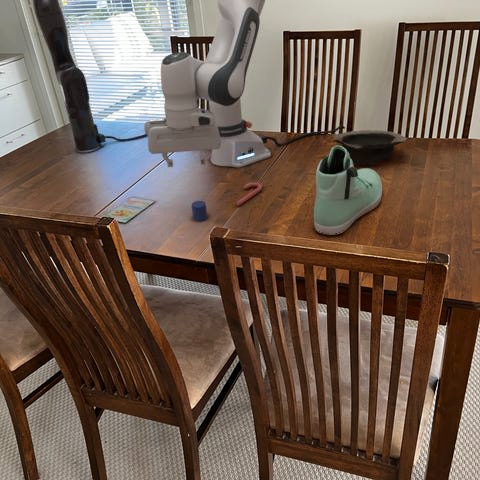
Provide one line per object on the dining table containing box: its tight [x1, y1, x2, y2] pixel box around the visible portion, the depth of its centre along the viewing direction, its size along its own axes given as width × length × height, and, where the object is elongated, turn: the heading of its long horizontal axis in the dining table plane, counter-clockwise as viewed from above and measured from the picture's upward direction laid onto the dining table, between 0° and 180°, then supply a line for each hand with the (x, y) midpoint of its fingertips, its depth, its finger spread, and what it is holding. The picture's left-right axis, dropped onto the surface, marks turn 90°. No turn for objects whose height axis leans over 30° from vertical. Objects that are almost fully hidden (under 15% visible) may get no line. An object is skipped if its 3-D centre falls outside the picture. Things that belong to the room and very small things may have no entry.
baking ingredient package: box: [104, 197, 155, 223], centre depth 147 cm, size 9×1×15 cm
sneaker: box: [313, 145, 383, 236], centre depth 133 cm, size 14×35×20 cm, turn 152°
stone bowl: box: [332, 130, 407, 166], centre depth 168 cm, size 25×25×9 cm
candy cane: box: [235, 181, 263, 207], centre depth 150 cm, size 6×15×2 cm, turn 145°
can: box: [191, 200, 208, 222], centre depth 139 cm, size 4×4×5 cm
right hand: (187, 165), depth 137 cm, fingers open, 8 cm apart
